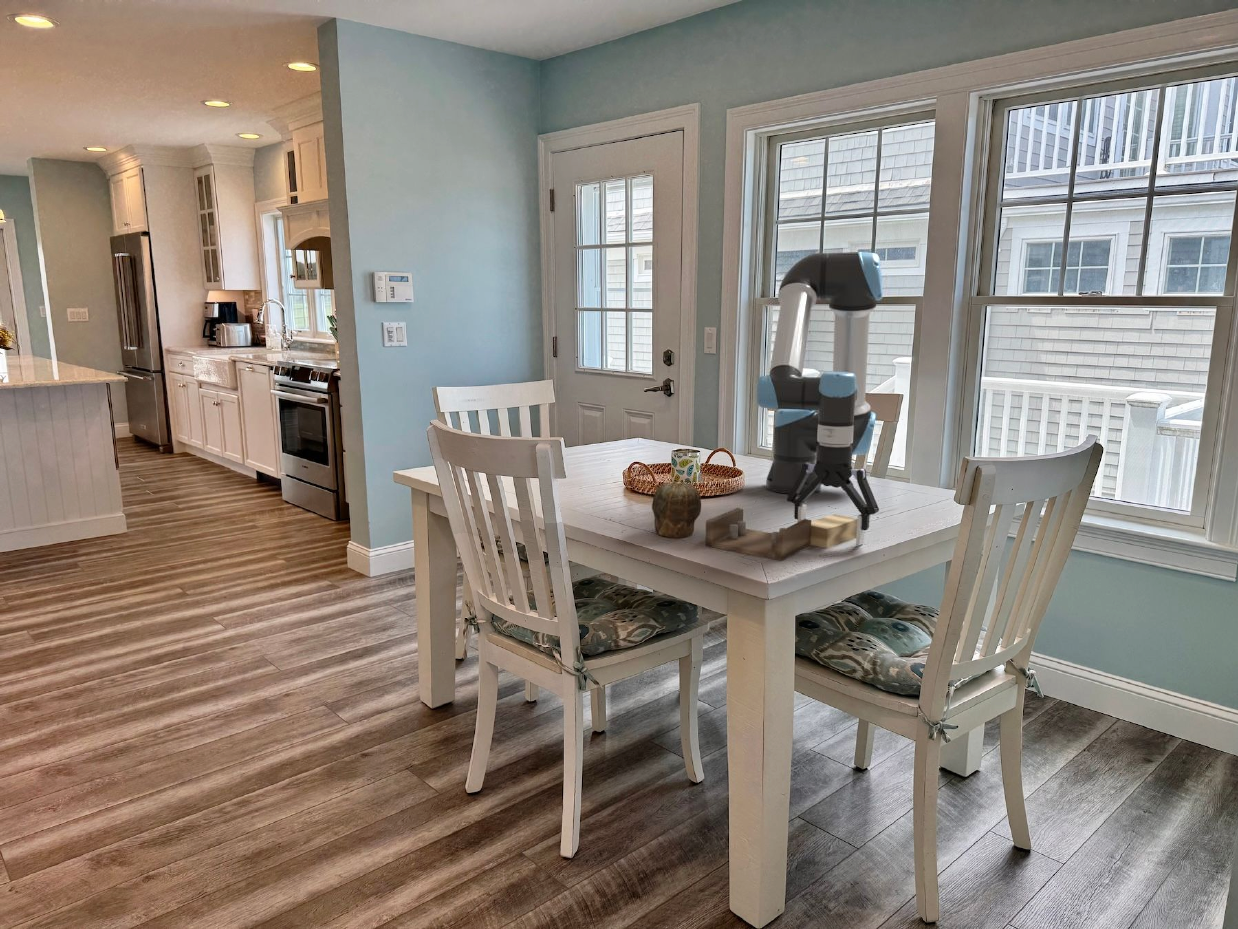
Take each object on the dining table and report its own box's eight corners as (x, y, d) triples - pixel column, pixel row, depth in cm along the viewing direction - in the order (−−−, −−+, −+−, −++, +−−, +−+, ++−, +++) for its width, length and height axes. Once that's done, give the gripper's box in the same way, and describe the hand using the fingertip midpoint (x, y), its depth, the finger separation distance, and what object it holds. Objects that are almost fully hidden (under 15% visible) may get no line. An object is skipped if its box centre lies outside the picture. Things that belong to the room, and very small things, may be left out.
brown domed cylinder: (665, 543, 182) (666, 489, 179) (644, 530, 192) (644, 479, 189) (709, 537, 186) (710, 485, 184) (686, 525, 196) (686, 475, 194)
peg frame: (705, 545, 180) (706, 521, 179) (736, 531, 191) (737, 507, 190) (782, 560, 169) (783, 534, 168) (810, 544, 180) (811, 520, 179)
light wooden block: (826, 549, 178) (827, 529, 177) (802, 543, 182) (803, 523, 181) (856, 538, 186) (857, 519, 185) (833, 533, 190) (834, 514, 189)
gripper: (774, 440, 184) (770, 533, 188) (886, 452, 170) (879, 552, 174) (788, 436, 190) (785, 526, 194) (898, 447, 176) (891, 544, 180)
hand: (829, 539), depth 184 cm, fingers open, 13 cm apart
